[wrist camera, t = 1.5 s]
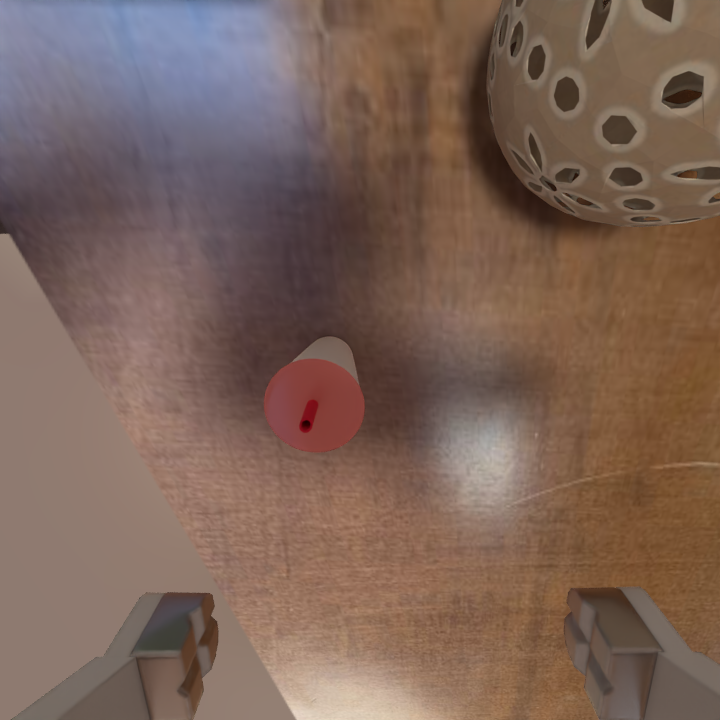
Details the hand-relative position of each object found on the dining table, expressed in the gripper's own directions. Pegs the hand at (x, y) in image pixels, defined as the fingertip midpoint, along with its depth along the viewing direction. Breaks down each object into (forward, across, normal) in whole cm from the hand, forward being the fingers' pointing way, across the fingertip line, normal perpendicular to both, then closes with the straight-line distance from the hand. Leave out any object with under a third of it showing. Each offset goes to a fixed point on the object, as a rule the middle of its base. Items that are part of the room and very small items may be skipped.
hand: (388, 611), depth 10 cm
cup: (+23, +3, +1) cm, 23 cm away
